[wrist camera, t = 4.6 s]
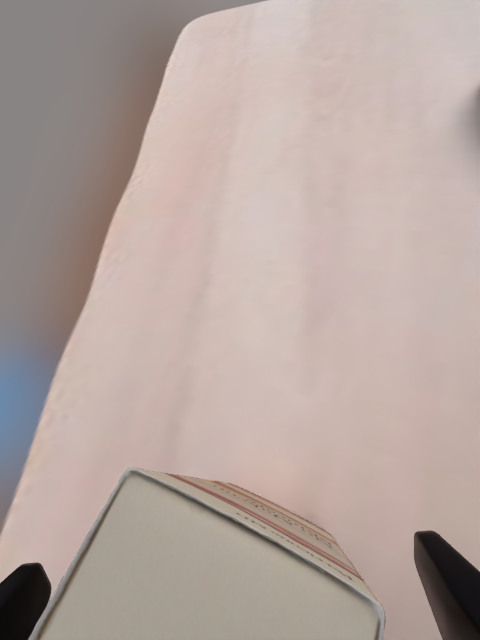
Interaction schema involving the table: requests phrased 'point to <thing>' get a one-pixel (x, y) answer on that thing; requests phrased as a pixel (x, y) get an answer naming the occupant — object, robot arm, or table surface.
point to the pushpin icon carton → (206, 571)
